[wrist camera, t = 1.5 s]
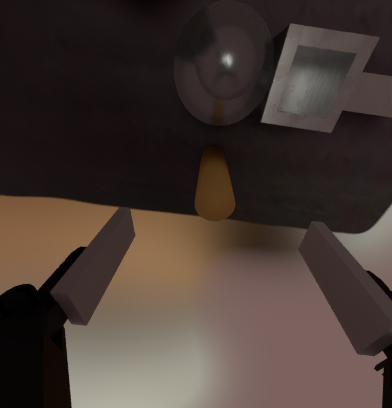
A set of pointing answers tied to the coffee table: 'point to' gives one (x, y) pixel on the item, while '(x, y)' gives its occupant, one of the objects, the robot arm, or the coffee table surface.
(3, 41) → the coffee table surface
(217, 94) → the rosette bracket
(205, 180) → the tapered pin
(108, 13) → the coffee table surface
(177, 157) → the coffee table surface
